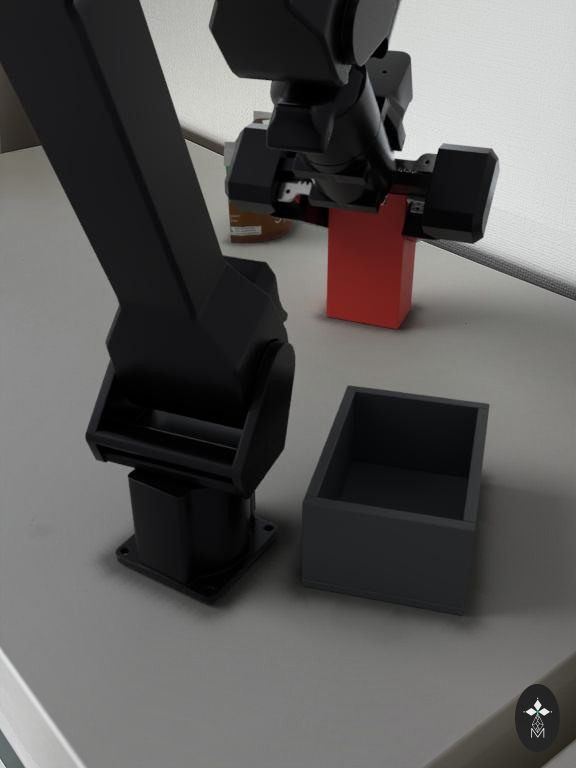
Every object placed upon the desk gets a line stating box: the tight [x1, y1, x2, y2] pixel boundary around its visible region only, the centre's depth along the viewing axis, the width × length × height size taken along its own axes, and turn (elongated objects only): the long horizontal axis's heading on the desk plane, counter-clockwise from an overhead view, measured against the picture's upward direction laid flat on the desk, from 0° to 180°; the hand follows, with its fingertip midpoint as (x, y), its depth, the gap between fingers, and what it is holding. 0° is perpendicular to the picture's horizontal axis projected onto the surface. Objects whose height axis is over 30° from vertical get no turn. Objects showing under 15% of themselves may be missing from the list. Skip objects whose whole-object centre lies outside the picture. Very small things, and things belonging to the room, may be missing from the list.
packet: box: [325, 194, 417, 330], centre depth 68 cm, size 4×6×11 cm, turn 68°
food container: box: [223, 110, 293, 244], centre depth 85 cm, size 12×6×10 cm, turn 168°
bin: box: [301, 384, 490, 616], centre depth 47 cm, size 11×8×6 cm
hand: (378, 230), depth 69 cm, fingers closed on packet, 6 cm apart
